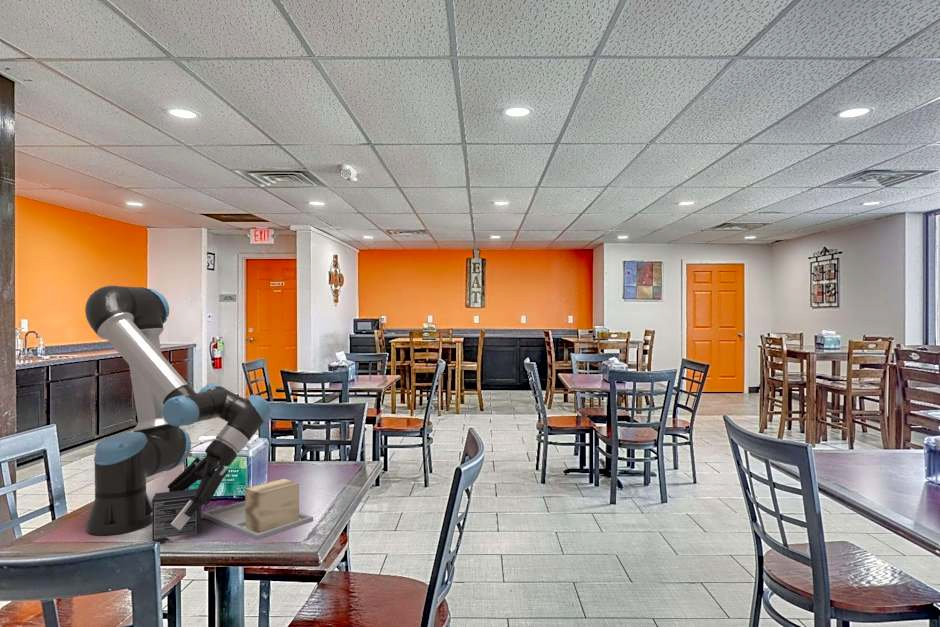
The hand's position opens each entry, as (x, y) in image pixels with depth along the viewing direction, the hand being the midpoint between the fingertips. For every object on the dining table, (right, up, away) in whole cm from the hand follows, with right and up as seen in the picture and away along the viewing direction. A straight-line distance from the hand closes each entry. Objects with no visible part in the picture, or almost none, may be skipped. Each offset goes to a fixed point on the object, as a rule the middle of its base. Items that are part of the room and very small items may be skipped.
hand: (164, 522), depth 139 cm
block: (+24, -3, +6) cm, 25 cm away
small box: (+2, -4, +2) cm, 5 cm away
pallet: (+18, -5, +11) cm, 22 cm away
